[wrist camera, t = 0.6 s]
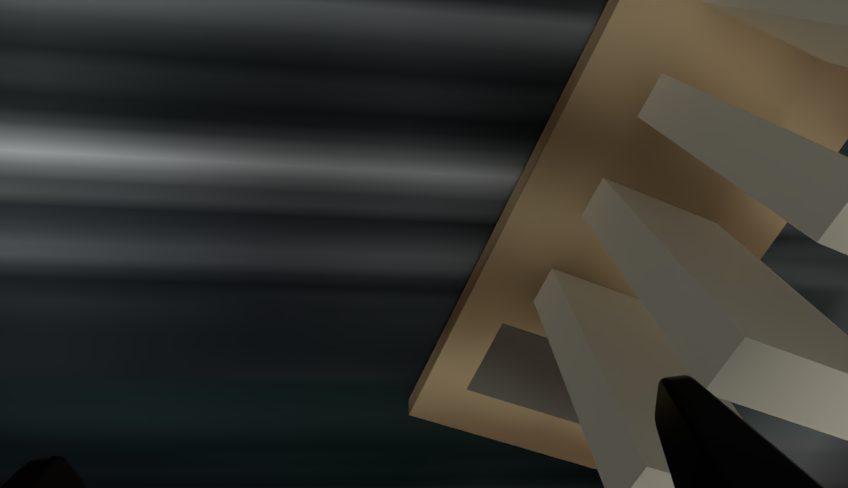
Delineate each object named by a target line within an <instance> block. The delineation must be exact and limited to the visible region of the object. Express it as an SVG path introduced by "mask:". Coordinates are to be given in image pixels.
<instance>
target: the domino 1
mask: <svg viewBox="0 0 848 488" xmlns="http://www.w3.org/2000/svg"><path fill="white" fill-rule="evenodd" d="M534 304H535V306H536V309H537V312H538V314H539V317H540V319H541V322H542V325H543V327H544V330H545V333H546V335H547V338H548V340H549V343H550V346H551V348H552V351H553V354H554V356H555V359H556V361H557V364H558V367H559V369H560V372H561V375H562V377H563V380H564V383H565V385H566V388H567V390H568V393H569V396H570V398H571V401H572V404H573V406H574V409H575V411H576V414H577V417H578V419H579V422H580V425H581V427H582V430H583V432H584V435H585V438H586V440H587V443H588V446H589V448H590V451H591V453H592V456H593V459H594V461H595V464H596V467H597V469H598V472H599V474H600V477H601V480H602V482H603V485H604V488H675V487H674V484H673V481H672V478H671V474H670V471H669V468H668V465H667V461H666V458H665V455H664V451H663V448H662V445H661V442H660V438H659V435H658V432H657V428H656V424H655V405H656V398H657V390H658V384H659V381H660V380H661V379H662V378H665V377H672V376H680V375H688V376H691V377H692V375H691V374H690V372H689V371H688V370H687V368H686V367H685V365H684V364H683V362H682V361H681V359H680V358H679V356H678V355H677V354H676V352H675V351H674V349H673V348H672V346H671V345H670V343H669V342H668V340H667V339H666V337H665V336H664V335H663V333H662V332H661V330H660V329H659V327H658V326H657V324H656V323H655V321H654V320H653V319H652V317H651V316H650V314H649V313H648V311H647V310H646V308H645V307H644V305H643V304H642V303H641V301H640V300H639V299H636V298H633V297H631V296H628V295H625V294H622V293H620V292H617V291H614V290H611V289H608V288H606V287H603V286H600V285H597V284H595V283H592V282H589V281H586V280H583V279H581V278H578V277H575V276H572V275H569V274H567V273H564V272H561V271H558V270H556V269H553V268H552V269H551V271H550V273H549V275H548V276H547V278H546V280H545V282H544V283H543V285H542V287H541V289H540V291H539V292H538V294H537V296H536V298H535V299H534ZM692 378H693V377H692ZM717 398H718V397H717ZM718 399H719V400H720V401H722V402H723V403H724V404H725V405H726V406H727V407H729V408H730V409H731V410H732V411H733V412H735V413H736V414H737V415H738V416H739V417H741V416H740V415H739V413H738V412H737V411H736V409H735V408H734V407H733V405H732V404H731V402H730V401H727V400H724V399H721V398H718Z"/></svg>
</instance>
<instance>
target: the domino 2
mask: <svg viewBox="0 0 848 488" xmlns="http://www.w3.org/2000/svg"><path fill="white" fill-rule="evenodd" d="M702 2H703V3H705V4H707V5H710V6H712V7H714V8H716V9H718V10H720V11H722V12H724V13H726V14H728V15H730V16H732V17H734V18H736V19H738V20H741V21H743V22H745V23H747V24H749V25H751V26H753V27H755V28H757V29H759V30H761V31H763V32H765V33H767V34H769V35H771V36H774V37H776V38H778V39H780V40H782V41H784V42H786V43H788V44H790V45H792V46H794V47H796V48H798V49H800V50H802V51H804V52H807V53H809V54H811V55H813V56H815V57H817V58H819V59H821V60H823V61H825V62H828V63H832V64H836V65H840V66H844V67H847V68H848V0H703V1H702Z"/></svg>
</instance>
